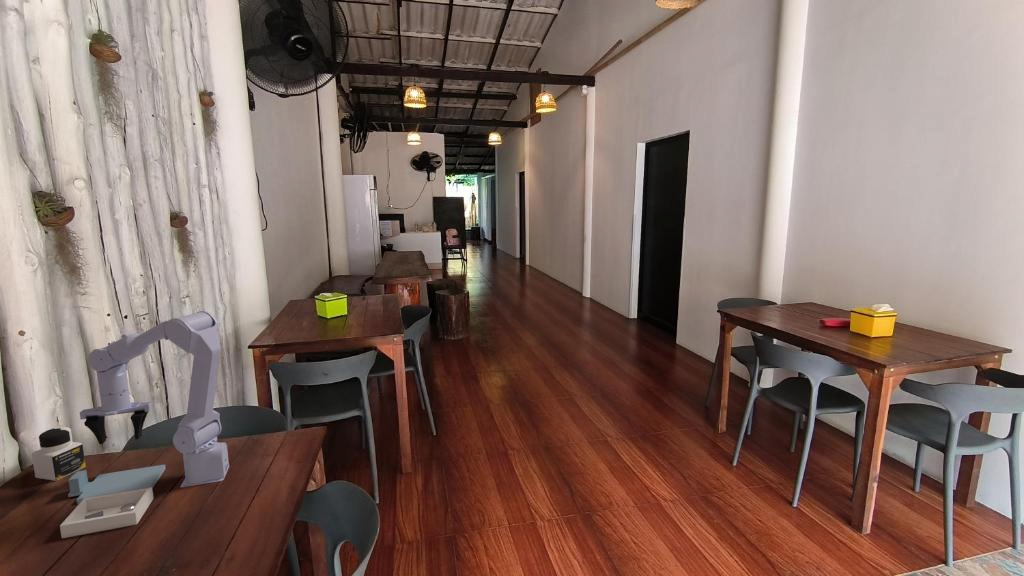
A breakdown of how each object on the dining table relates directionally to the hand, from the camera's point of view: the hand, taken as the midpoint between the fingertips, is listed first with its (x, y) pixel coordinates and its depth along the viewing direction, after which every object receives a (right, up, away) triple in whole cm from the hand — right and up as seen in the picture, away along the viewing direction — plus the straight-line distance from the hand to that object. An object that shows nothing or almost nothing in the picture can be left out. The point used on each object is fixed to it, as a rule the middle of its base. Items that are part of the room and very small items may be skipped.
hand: (120, 439), depth 121 cm
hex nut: (+15, -12, -15) cm, 24 cm away
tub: (+12, -12, -17) cm, 24 cm away
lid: (+4, -10, -6) cm, 12 cm away
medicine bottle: (-17, -9, +1) cm, 20 cm away
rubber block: (+10, -12, -19) cm, 25 cm away
